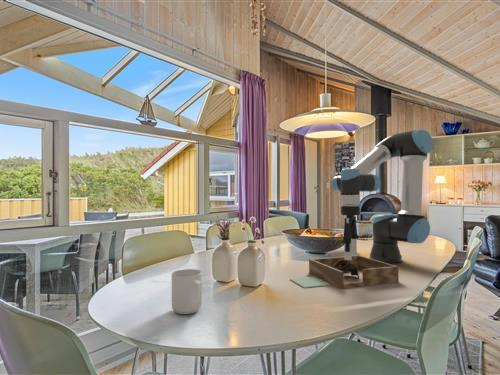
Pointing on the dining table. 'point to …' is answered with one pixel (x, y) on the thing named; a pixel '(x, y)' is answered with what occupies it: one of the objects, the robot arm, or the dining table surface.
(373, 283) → the crate
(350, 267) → the brown hollow vessel
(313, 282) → the mat
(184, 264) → the dining table surface
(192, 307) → the mug
